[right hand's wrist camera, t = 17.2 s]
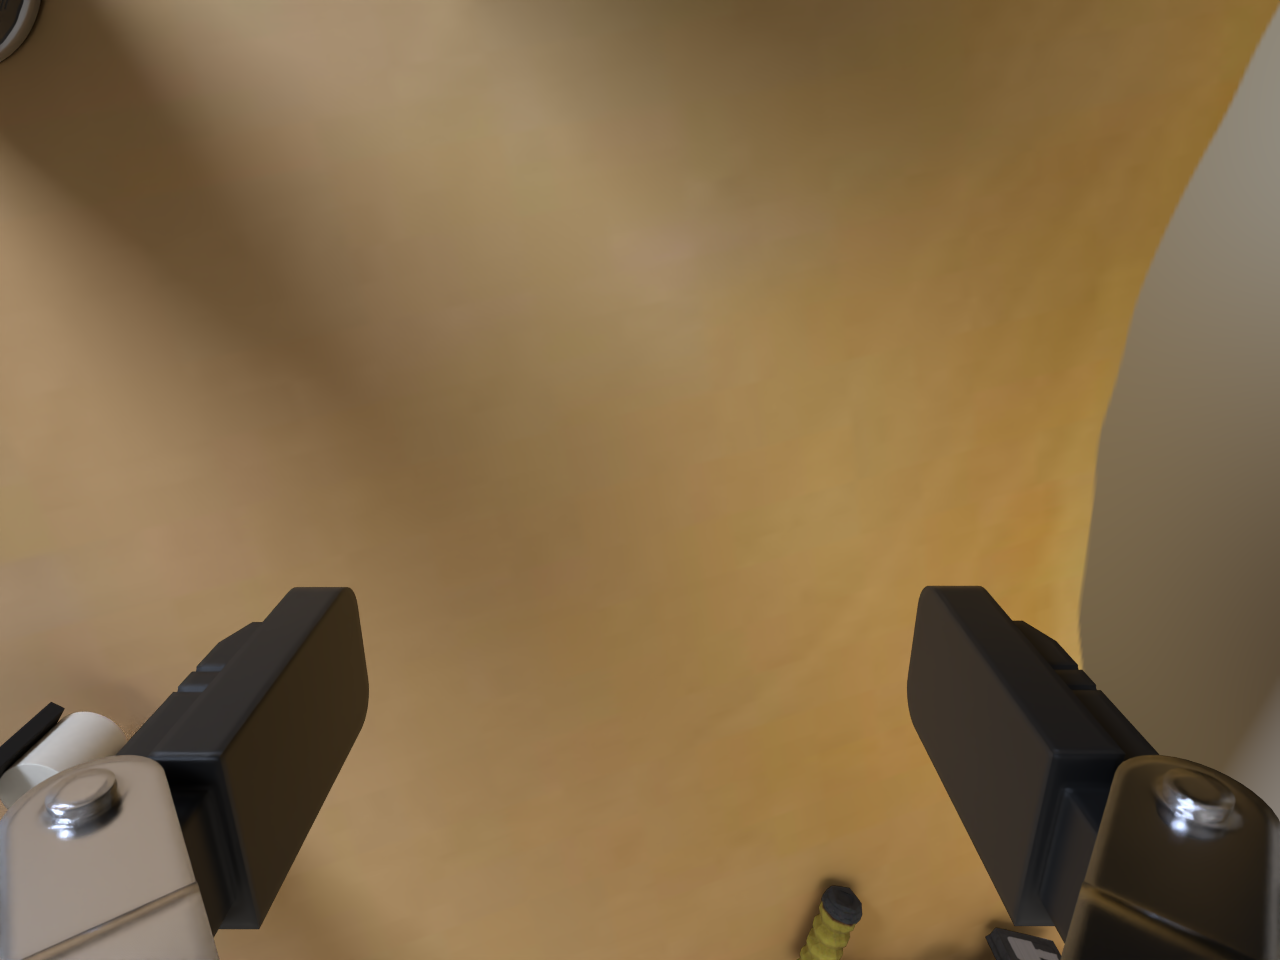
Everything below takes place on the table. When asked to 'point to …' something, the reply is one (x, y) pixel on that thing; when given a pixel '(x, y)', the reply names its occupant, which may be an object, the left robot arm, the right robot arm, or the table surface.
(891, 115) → the table surface
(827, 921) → the toy gun
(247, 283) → the table surface
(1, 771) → the left robot arm
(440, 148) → the table surface
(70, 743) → the canister
